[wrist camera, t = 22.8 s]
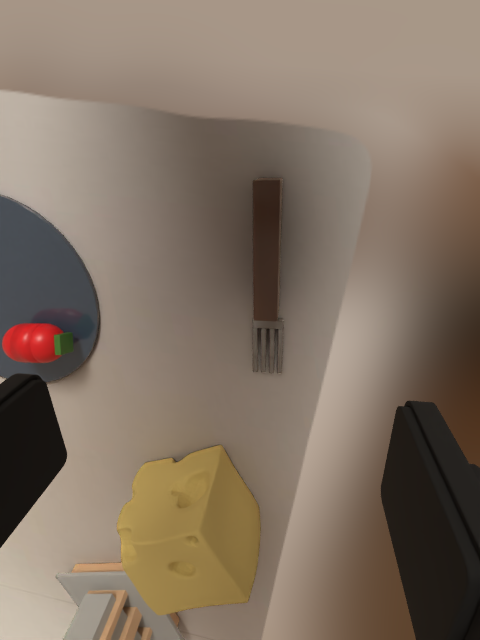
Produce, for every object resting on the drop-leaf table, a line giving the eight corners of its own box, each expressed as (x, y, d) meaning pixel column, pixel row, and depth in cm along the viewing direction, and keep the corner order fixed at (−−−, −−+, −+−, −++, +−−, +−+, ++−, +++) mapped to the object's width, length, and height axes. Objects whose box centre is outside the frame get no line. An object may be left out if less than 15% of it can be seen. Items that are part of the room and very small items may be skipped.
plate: (-125, 191, 31) (-130, 191, 30) (75, 188, 28) (72, 188, 27) (-47, 374, 38) (-50, 377, 38) (115, 386, 36) (113, 389, 35)
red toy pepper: (-10, 325, 31) (-7, 365, 31) (51, 326, 30) (54, 367, 30) (22, 321, 34) (24, 357, 34) (78, 321, 33) (80, 358, 33)
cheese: (142, 461, 39) (95, 549, 30) (226, 439, 36) (202, 531, 27) (185, 522, 43) (155, 618, 34) (266, 507, 39) (256, 609, 30)
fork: (253, 368, 32) (249, 389, 29) (252, 178, 26) (246, 180, 23) (281, 370, 32) (280, 391, 29) (288, 177, 25) (286, 179, 22)
